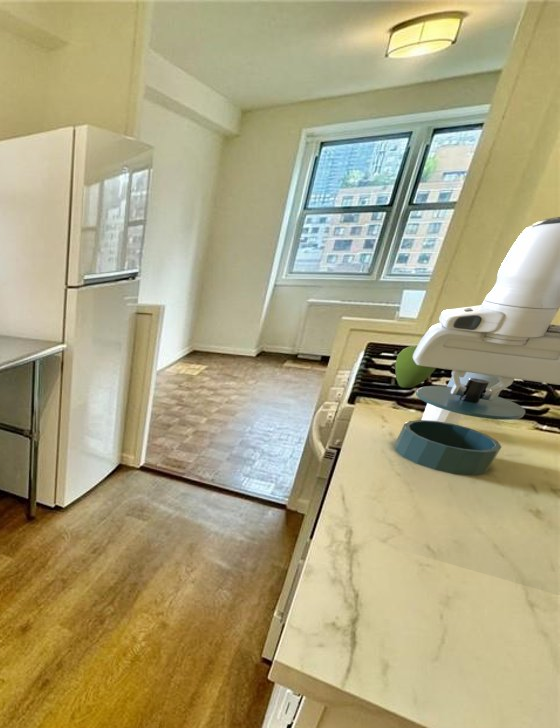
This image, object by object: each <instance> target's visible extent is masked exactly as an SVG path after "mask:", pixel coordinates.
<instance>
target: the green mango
mask: <svg viewBox="0 0 560 728" xmlns="http://www.w3.org/2000/svg"><path fill="white" fill-rule="evenodd" d="M417 346H418V345H409V346H407V347H405V348H403V349H402V350H401V351H400V352H399V353H398V354H397V357H396V360H395V363H394V368H395V369H394V370H395V379H396V381H397V385H398V386H399V387H400V388H403V389H404V388H405V389H411V388H414V387H416V386H418V385H420V384H422V383H423V382H425V381H426V380H427V379H428V378H429V377H431V375H432V374H433V373H434V372H435V371H436V369H437V368H434V367H427V366H420V365H417V364H416V363H415V362H414V360H413V354H414V351H415V349H416V348H417Z"/></svg>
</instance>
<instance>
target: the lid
mask: <svg viewBox="0 0 560 728" xmlns="http://www.w3.org/2000/svg"><path fill="white" fill-rule="evenodd" d="M488 384H489V382H488V381H486V380H482V379H476V378H471V379H469V381H468V383H467V385H466V387H467V389H466V391H464V394H463V396H459V395H453V394H451V390H452V388H453V387H447V385H446V386H444V385H427V386H422V387H419V388H418V389H417V390H416V392H415V396H417V398H418V399H419V400H421V401H423V402H424V403H426V404H427V403H428V404H431V405H433V406H436V407H439V408H442V409H445V410H448V411H451V412H455V413H459V414H463V415H464V416H469V417H473V418H481V419H487V420H488V419H489V420H499V421H501V420H503V421H508V420H509V421H510V420H519V419H521V418H523V417H524V416H525V414H526V409H525V408H524V407H523V406H521V405H520V404H518V403H516V402H514V401H512V400H509V399H506V398H504V397H501V396H499V395H498V396H495V397H494V399H493V400H492V401H491V400H484V399H480V398H481V397H482V395H483V393H484V391H485V389H486V388H487V386H488Z"/></svg>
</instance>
